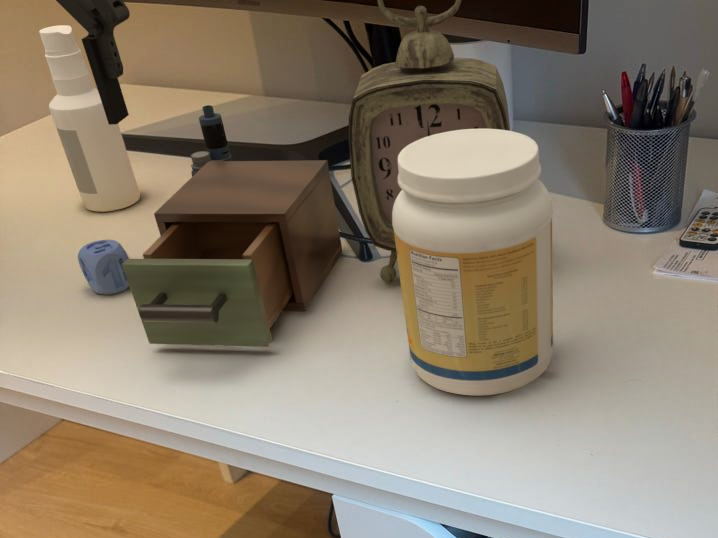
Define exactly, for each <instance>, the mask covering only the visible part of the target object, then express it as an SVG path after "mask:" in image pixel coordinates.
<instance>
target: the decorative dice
mask: <svg viewBox="0 0 718 538" xmlns="http://www.w3.org/2000/svg"><path fill="white" fill-rule="evenodd" d="M127 259H130V257H129V255H128V253H127V250H125V248H124V247H123V245H122V244H121V243H120V242H119V241H116V240H115V239H99V240H94V241H90V242H89V243H87V244H84V245H83V246H82V247H81V248H80V249H79V251H78V254H77V260H78V264H79V268H80V270H81V273H82V274H83V276H84V279H85V280H86V282H87V284H88V285H89V287H90V289H91V290H92V291H93V292H95V293H96V294H98V295H114V294H118V293H119V294H120V293H123V292H124V291H126V290H128V289H130V286H129V283H128V280H127V277H126V274H125V272H124V269H123V266H122V264H123V263H124V262H125V261H126V260H127Z"/></svg>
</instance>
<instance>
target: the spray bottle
mask: <svg viewBox="0 0 718 538" xmlns="http://www.w3.org/2000/svg"><path fill="white" fill-rule="evenodd" d="M38 33H39V36H40V39H41V42H42V44H43V48H44V50H43V51H44V52H45V54H44V57H45V60H46V62H47V63H46V64H47V65H48V69H49V71H50V74H51V80H52V82H53V85H54V88H55V91H56V94H55V95H54V97H53V98H52V99H51V100H50V102H49V104H48V109H49V112H50V114H51V117H52V119H53V120H52V121H53V123H54V126H55V129H56V131H57V135H58V137H59V139H60V143H61V146H62V148H63V151H64V154H65V157H66V159H67V162H68V165H69V168H70V170H71V173H72V176H73V179H74V182H75V185H76V187H77V190H78V194H79V195H80V198H81V201H82V204H83V206H84V207H85V209H87V210H89V211H94V212H103V213H105V212H113V211H118V210H122V209H125V208H129V207H130V206H132V205H134V204H136V203H137V202H139V200H140V198H141V193H140V189H139V186H138V183H137V179H136V176H135V173H134V170H133V166H132V164H131V160H130V157H129V154H128V151H127V147H126V143H125V141H124V138H123V134H122V131H121V129H120V125H119V123H118V124H112V125H109V123H108V120H107V117H106V114H105V111H104V108H103V105H102V102H101V98H100V95H99V92H98V89H97V87H95V86H94V84H93V80H92V78H91V74H90V71H88V68H87V65H86V62H85V59H84V56H83V55H84V54H83V52H82V49H81V48H80V47H79V44H78V43H77V40H76V37H75V35H74V31H73V28H72V26H71V25H66V24H62V25H61V24H60V25H53V26H52V25H51V26H48V27H43V28H41V29H40V30H39V31H38Z"/></svg>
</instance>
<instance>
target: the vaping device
mask: <svg viewBox="0 0 718 538" xmlns="http://www.w3.org/2000/svg"><path fill="white" fill-rule="evenodd" d="M213 107H214V106H213V105H211V104H210V105H209V104H208V105H204V106H202V107H201V108H202V111H203V114H202V115H200V116H198V122H199V124H200V129H201V133H202V137H203V141H204V145H205V149H206V150H202V151H195V152H193V153H191V154H190V159H191V162H192V163H191V165H190V167H191V171H190V172H191V178H192V177H193V176H194V175H195V174H196V173H197V172H198V171H199V170H200V169H201V168H202V167H203V166H204V165H205V164H206V163H207V162H209V161H233V156H232V154H231V152H230V147H229V144H228V138H227V135H226V131H225V126H224V123H223V118H222V115H221V113H218V112H215V111H214V108H213Z"/></svg>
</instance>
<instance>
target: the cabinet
mask: <svg viewBox="0 0 718 538" xmlns="http://www.w3.org/2000/svg"><path fill="white" fill-rule="evenodd" d="M153 216H154V218H155V222H156V226H157V229H158V232H159V235H160V236H161V235H162V234H163V233H164V232H165V231H166V230H167V229H168V228H169V227H170V226H171V225H172V224H173V223H174V222H279V225H280V230H281V235H282V239H283V244H284V249H285V253H286V258H287V263H288V267H289V272H290V277H291V281H292V286H293V291H294V293H293V295H292V296H291V298H290V299H289V301H288V302H287V304H286V305H285V307H284V308H283V310H282V311H281V312H283V311H284V312H306V311H307V309H308V308H309V306H310V305H311V304H312V302H313V300H314V298H315V296H316V295H317V293H318V292H319V290H320V288H321V287H322V285H323V284H324V282H326V279H327V278H328V276H329V274H330V273H331V272H332V270H333V268H334V267H335V266H336V263H337V262H338V260H339V259H340V257H341V255H342V254H343V246H342V241H341V240H342V239H341V233H340V227H339V222H338V221H339V220H338V215H337V210H336V203H335V199H334V192H333V187H332V180H331V174H330V169H329V161H328V160H327V159H325V160H323V159H319V160H318V159H317V160H311V159H309V160H305V159H304V160H232V161H209V162H207V163H206V164H205V165H204V166H203V167H202V168H201V169H200V170H199V171H198V172H197V173H196V174H195V175H194V176H193V177H192V176H191V178H189V179H188V180H187V182H185V183H184V184H183V185H182V186H181V187H180V188H179V189H178V190H177V191H176V192H175V193H173V195H172V196H170V198H168V199H167V201H165V202H164V203H163V204H162V205H161V206H160V207H159V208H158V209H157V210H156V211H155V212H153ZM160 236H159V237H160Z"/></svg>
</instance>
